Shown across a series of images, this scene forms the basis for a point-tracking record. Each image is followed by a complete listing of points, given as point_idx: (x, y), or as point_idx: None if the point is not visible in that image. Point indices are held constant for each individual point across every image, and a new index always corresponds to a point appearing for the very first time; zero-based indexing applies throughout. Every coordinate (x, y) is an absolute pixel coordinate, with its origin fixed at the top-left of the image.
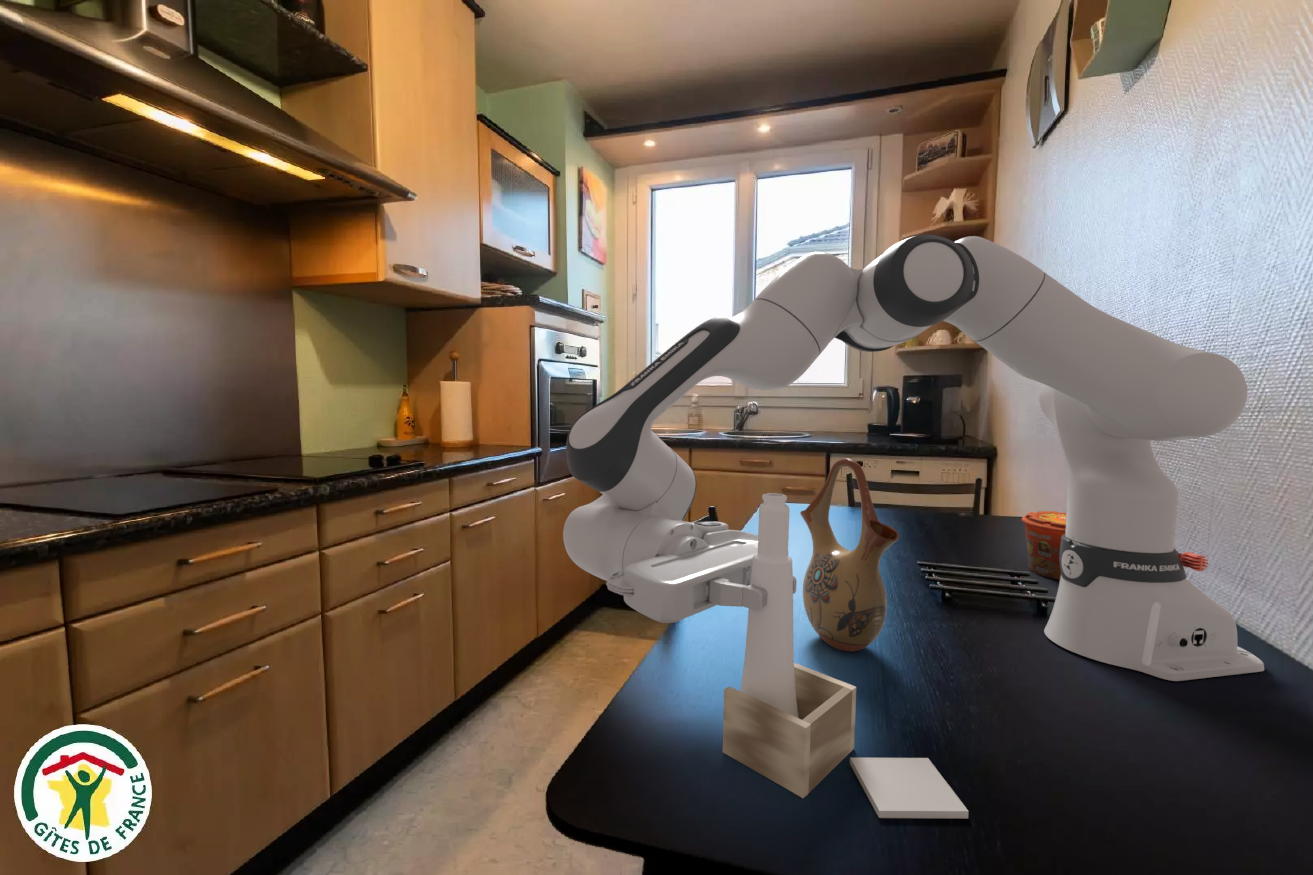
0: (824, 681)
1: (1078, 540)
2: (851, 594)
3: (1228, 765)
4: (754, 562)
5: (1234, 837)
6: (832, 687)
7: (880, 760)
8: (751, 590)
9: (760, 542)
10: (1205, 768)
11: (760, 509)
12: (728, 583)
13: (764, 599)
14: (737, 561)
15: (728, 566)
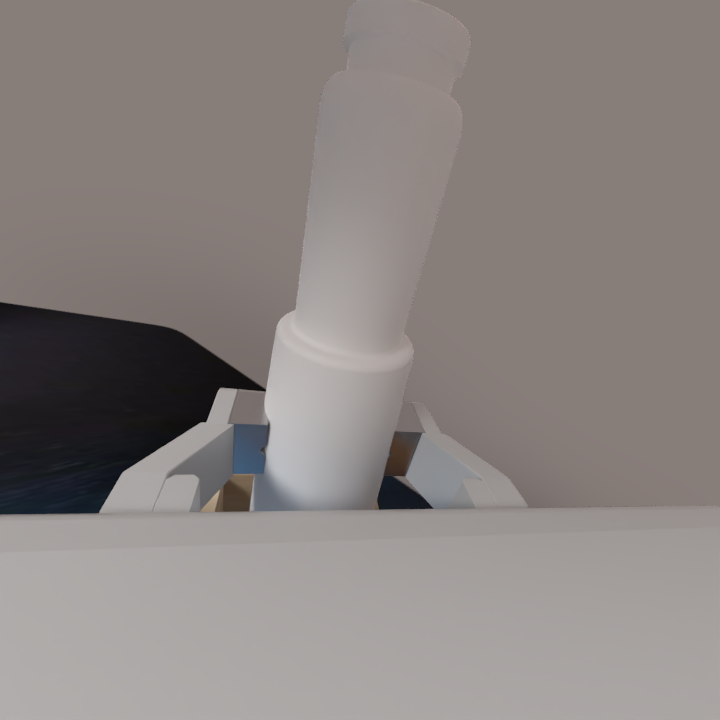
0: (215, 510)
1: None
2: None
3: (52, 327)
4: (409, 368)
5: (166, 339)
6: (219, 499)
7: None
8: (430, 415)
9: (415, 288)
10: (66, 335)
11: (461, 131)
12: (479, 466)
13: None
14: (330, 526)
15: (428, 511)
